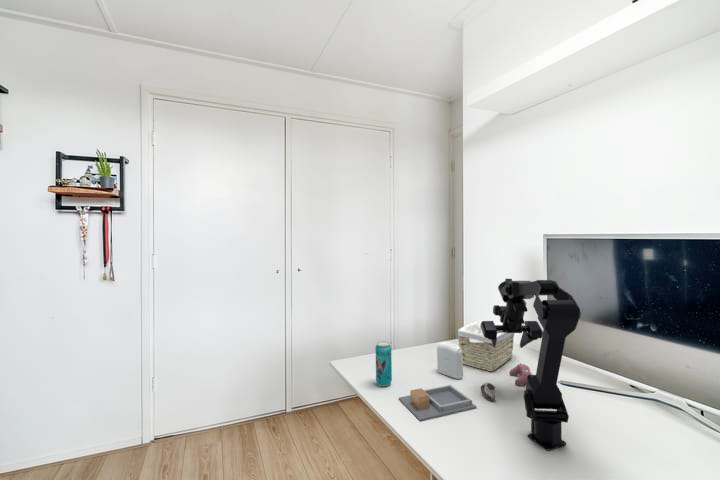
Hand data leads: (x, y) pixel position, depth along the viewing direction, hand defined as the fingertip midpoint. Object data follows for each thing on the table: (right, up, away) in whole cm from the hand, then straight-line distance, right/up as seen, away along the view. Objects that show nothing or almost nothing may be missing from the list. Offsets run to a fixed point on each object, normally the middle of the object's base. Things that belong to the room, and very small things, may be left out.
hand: (507, 346), depth 117 cm
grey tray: (-27, -15, -10) cm, 33 cm away
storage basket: (+3, -14, +25) cm, 29 cm away
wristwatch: (-9, -15, -7) cm, 19 cm away
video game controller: (+7, -15, +6) cm, 17 cm away
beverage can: (-43, -15, +4) cm, 46 cm away
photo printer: (-17, -15, +12) cm, 25 cm away
